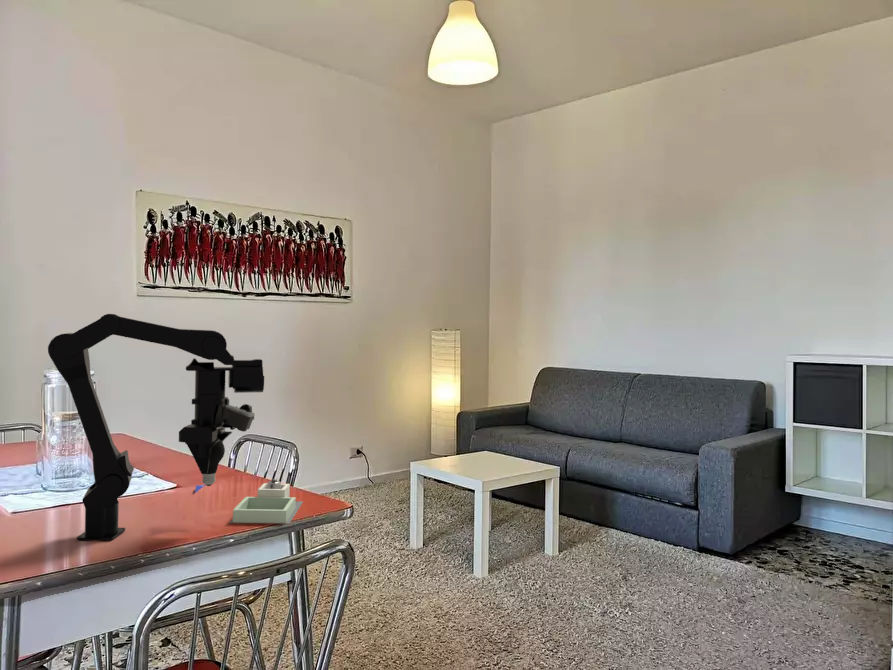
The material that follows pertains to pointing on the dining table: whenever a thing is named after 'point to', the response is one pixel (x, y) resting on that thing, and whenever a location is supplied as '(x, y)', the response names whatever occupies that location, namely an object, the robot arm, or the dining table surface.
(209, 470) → the light bulb
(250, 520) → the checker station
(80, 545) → the dining table surface
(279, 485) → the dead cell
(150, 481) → the dining table surface
